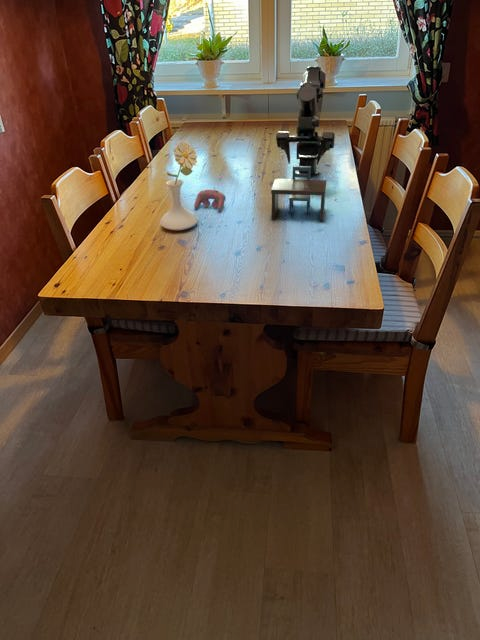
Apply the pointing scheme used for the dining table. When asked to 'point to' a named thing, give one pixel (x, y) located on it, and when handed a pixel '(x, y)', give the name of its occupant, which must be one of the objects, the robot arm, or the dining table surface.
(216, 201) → the video game controller
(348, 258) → the dining table surface
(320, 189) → the desk
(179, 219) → the flower in vase
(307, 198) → the chair
